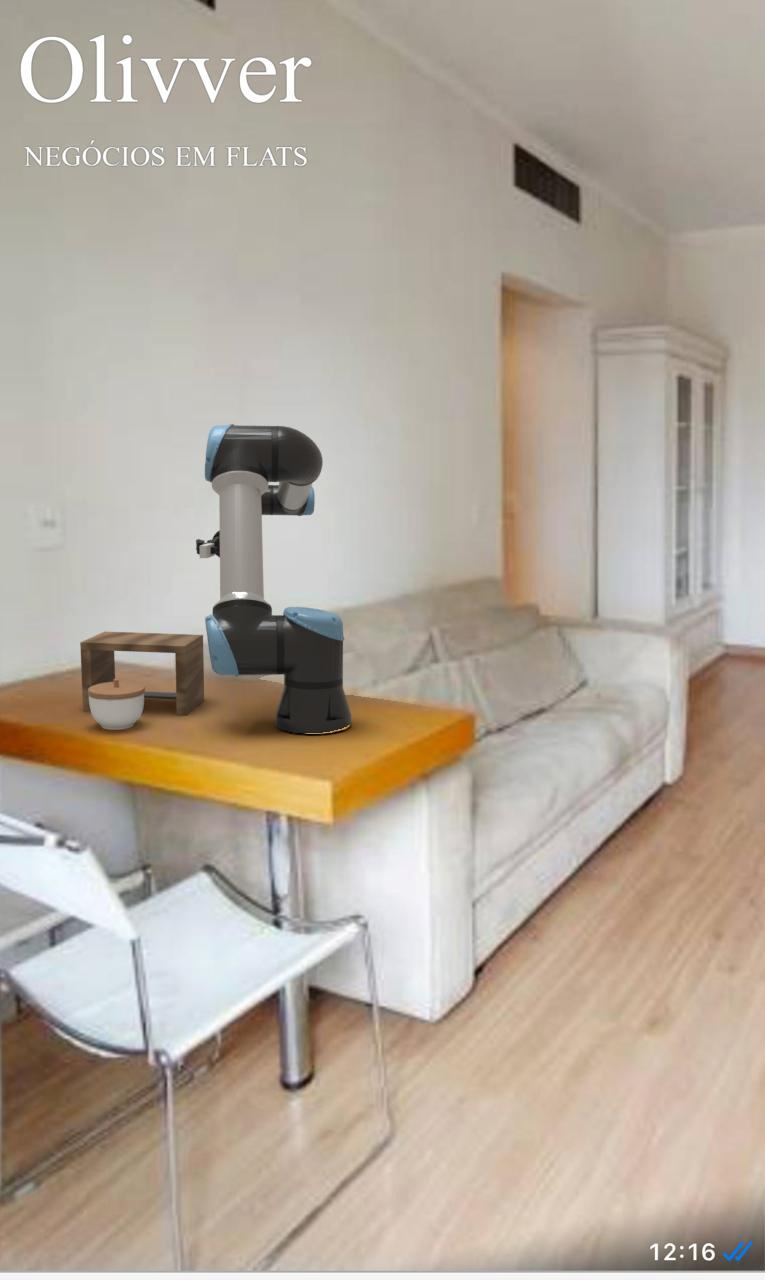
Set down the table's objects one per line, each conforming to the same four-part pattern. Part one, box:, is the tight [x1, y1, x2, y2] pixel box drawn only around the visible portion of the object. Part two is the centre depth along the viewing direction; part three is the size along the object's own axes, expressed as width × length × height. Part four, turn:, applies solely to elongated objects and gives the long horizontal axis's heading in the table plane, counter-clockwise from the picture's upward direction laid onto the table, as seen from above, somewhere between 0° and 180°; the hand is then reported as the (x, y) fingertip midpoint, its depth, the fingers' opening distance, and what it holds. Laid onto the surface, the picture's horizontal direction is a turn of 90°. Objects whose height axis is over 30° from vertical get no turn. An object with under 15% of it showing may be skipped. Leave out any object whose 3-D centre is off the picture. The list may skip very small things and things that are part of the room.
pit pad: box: [144, 690, 176, 700], centre depth 213 cm, size 18×4×1 cm, turn 84°
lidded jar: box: [88, 678, 146, 731], centre depth 188 cm, size 11×11×9 cm
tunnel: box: [79, 631, 205, 716], centre depth 204 cm, size 22×13×14 cm, turn 84°
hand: (202, 552), depth 209 cm, fingers closed
